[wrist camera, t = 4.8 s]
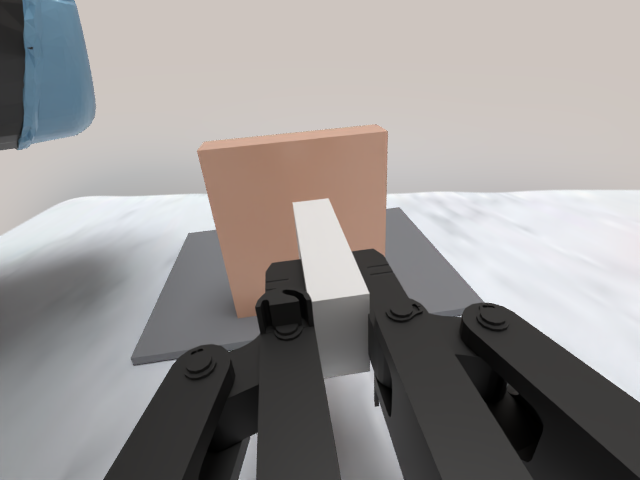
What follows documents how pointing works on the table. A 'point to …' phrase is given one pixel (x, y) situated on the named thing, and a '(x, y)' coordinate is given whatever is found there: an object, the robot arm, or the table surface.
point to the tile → (291, 196)
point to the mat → (232, 332)
